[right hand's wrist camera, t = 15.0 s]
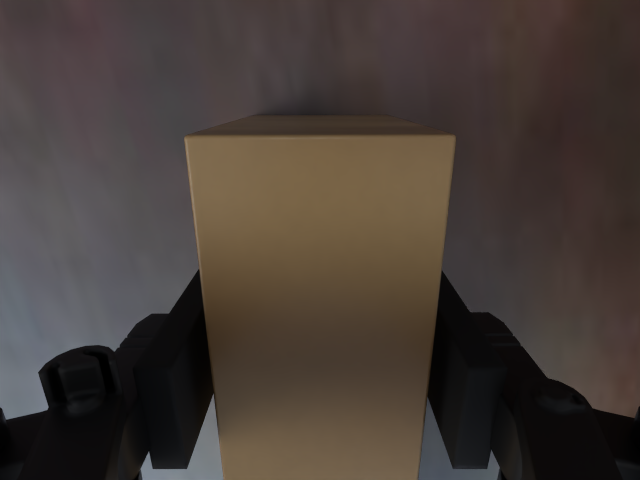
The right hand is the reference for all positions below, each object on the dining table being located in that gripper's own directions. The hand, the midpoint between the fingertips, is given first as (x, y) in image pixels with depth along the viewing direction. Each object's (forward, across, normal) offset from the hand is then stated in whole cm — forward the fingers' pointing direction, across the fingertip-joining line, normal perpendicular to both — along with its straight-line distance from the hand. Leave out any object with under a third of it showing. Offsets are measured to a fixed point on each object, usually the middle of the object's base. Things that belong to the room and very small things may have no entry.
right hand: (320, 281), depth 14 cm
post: (+1, 0, -24) cm, 24 cm away
